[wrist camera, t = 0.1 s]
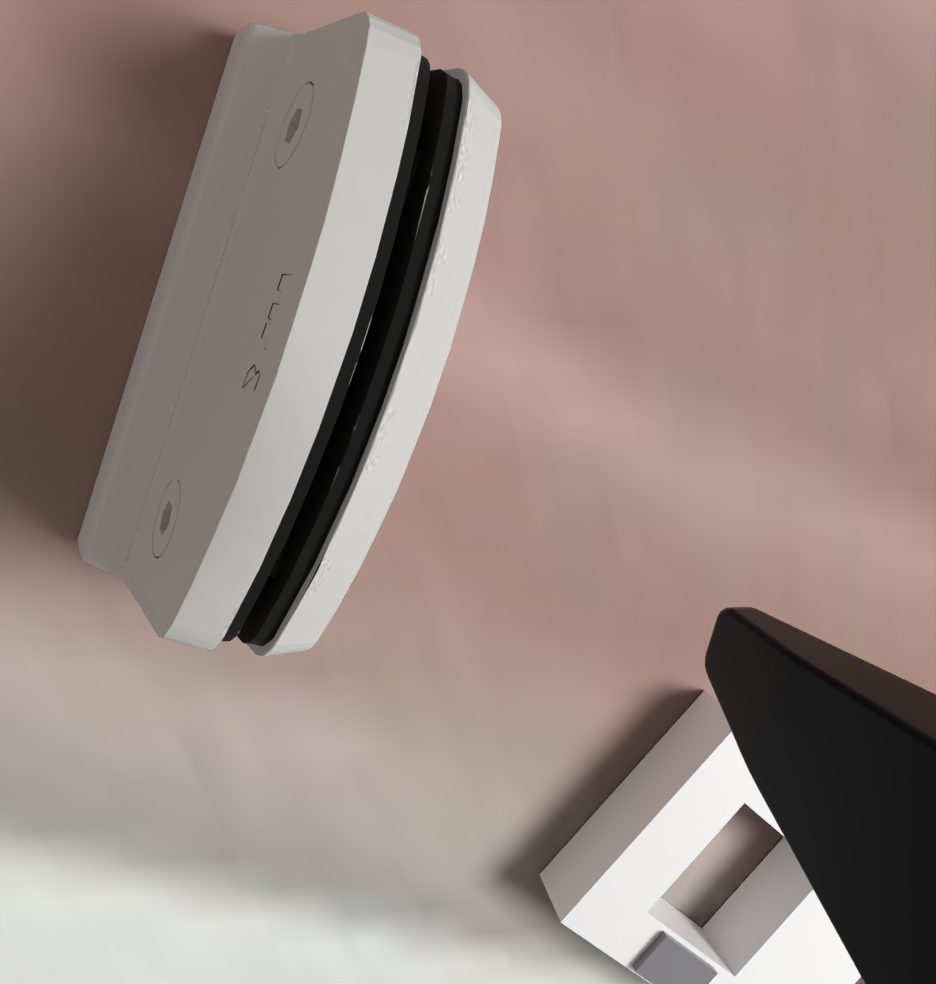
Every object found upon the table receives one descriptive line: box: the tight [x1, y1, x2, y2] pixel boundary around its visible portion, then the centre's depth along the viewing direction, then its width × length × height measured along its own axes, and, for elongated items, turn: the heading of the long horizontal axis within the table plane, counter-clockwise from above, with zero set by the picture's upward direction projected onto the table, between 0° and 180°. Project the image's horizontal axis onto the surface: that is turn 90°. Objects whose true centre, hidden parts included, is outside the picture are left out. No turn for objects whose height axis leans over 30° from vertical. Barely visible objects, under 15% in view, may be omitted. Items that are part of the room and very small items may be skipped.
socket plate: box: [539, 690, 861, 984], centre depth 30 cm, size 10×22×3 cm, turn 46°
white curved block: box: [77, 12, 501, 656], centre depth 19 cm, size 17×5×10 cm, turn 159°
